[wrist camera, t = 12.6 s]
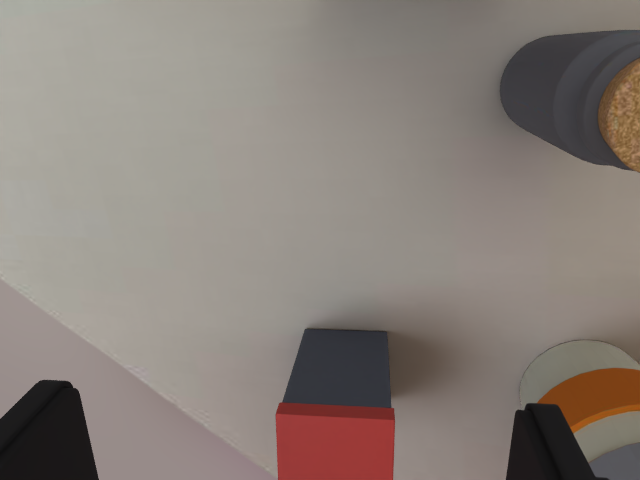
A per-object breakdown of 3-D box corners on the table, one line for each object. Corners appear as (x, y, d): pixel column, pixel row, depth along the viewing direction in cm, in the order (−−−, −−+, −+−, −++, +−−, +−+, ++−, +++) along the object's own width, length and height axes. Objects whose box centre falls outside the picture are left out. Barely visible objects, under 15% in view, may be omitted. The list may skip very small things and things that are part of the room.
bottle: (488, 124, 33) (570, 179, 19) (513, 28, 31) (625, 11, 17) (578, 138, 33) (727, 204, 19) (609, 42, 31) (803, 38, 17)
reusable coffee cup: (697, 407, 39) (877, 608, 25) (548, 476, 43) (632, 685, 29) (615, 287, 36) (765, 437, 22) (464, 372, 40) (511, 546, 26)
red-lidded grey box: (389, 331, 39) (387, 407, 41) (303, 328, 40) (304, 403, 42) (395, 420, 28) (391, 519, 30) (275, 413, 29) (279, 511, 31)
